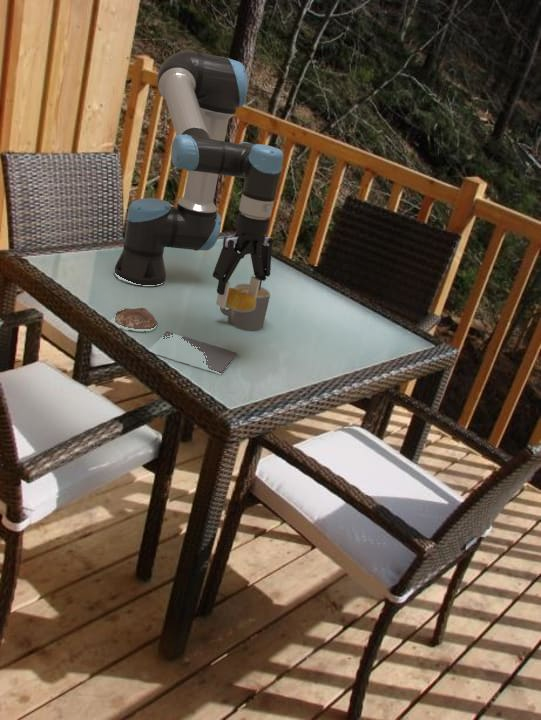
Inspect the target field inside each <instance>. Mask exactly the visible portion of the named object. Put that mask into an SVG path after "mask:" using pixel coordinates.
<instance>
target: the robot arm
mask: <svg viewBox="0 0 541 720" xmlns="http://www.w3.org/2000/svg"><path fill="white" fill-rule="evenodd" d="M246 70H247V69H246V68H245V66H244V64H243V63H242V62H241V61H238V60H234V59H232V58H229V57H223V56H218V55H212V54H207V53H202V52H198V51H194V50H193V51H192V50H183V51H182V50H181V51H178V52H176V53H174V54H171V55H170V56H169V57H167V58H166V59H165V60H164V61H163V63H162V64H161V66H160V67H159V70H158V73H157V79H156V81H157V82H156V84H157V88H158V91H159V93H160V96H161V97H162V98H163V99H164V100H165V102H166V105H167V109H168V111H169V115H170V119H171V122H172V126H173V130H174V133H175V136H174V138H173V141H172V144H171V149H170V151H171V152H170V155H171V164H172V165H173V167H175V168H176V169H182V170H185V171H187V177H186V181H185V182H186V183H185V188H184V194H183V196H182V197H181V198H179V199H178V200H177V204H176V207H172V205H171V203H170V202H169V201H167V200H164V199H159V198H156V197H155V198H154V197H152V198H151V197H150V198H149V197H148V198H147V197H146V198H139V199H136V200H134V201H132V202H131V203H130V204H129V207H128V211H127V216H126V226H125V234H124V239H123V240H124V242H123V249H122V252H121V253H120V256H119V258H118V260H117V262H116V264H115V265H114V270H115V273H116V274H117V275H119V276H120V277H122V278H124V279H126V280H128V281H131V282H133V283H136V284H141V285H157V284H161V283H163V282H164V281H165V282H166V276H167V273H166V272H167V271H166V267H165V261H164V251H165V248H173V249H183V250H190V251H191V250H193V251H209V250H211V249H212V248H214V246H215V245H216V243H217V241H218V239H219V235H220V232H221V227H222V226H221V224H222V219H221V215H220V214H219V213H218V212H217V211H218V208H217V206H216V205H215V203H214V198H215V193H216V187H217V184H218V183H217V182H218V178H219V176H226V177H234V178H242V179H243V180H244V182H243V188H242V192H241V197H240V203H239V208H238V210H239V213H237V217H236V223H235V229H236V232H235V234H234V236H233V237H230V238H229V237H227V236H226V237H224V238H223V242H222V248H221V251H220V254H219V256H218V259H217V261H216V264H215V266H214V270H213V273H212V275H211V276H212V277H213V278H214V279H216V280H218V283H217V287H216V288H217V289H216V293H217V296H216V302H215V304H216V305H217V306H218V307H219V308H220V307H221V308H222V309H224V308H225V309H226V302H227V297H228V292H229V288H231V282H229V280H230V278H231V277H232V275H233V273H234V272H235V270H236V268H237V267H238V265H239V263H240V262H241V261H242V259H244V258H245V256H247V255H250V260H251V264H252V269H253V275H252V276H251V277H250V281H249V284H250V285H249V290H248V294H250V295H252V296H253V297H254V298H255V299H257V294H258V291H259V290H260V288H261V287H262V282H265V281H266V280H267V277H270V276H271V268H272V266H271V265H272V250H273V249H272V248H273V245H274V242H275V240H274V239H273V238H271V237H270V236H268V235H267V234H268V232H269V227H270V221H271V220H270V217H272V212H273V208H274V203H275V198H276V196H277V195H276V194H277V191H278V186H279V182H280V177H281V172H282V170H283V161H284V152H283V151H282V149H280V148H277V147H274V146H272V145H267V144H262V143H261V144H260V143H255V144H253V143H250V142H246V141H241V142H237V143H235V142H230V141H225V140H226V135H227V131H228V125H229V120H230V119H231V118H232V117H234V116H235V115H236V113H237V108H238V109H239V108H242V107H243V106H245V102H246V100H247V97H248V75H247V71H246ZM165 282H164V283H165Z"/></svg>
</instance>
